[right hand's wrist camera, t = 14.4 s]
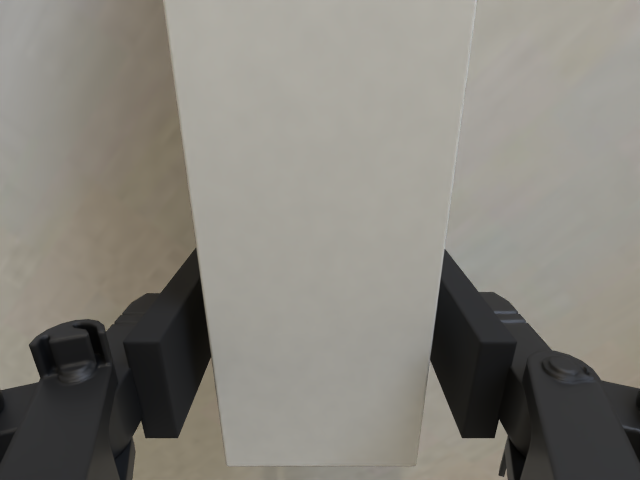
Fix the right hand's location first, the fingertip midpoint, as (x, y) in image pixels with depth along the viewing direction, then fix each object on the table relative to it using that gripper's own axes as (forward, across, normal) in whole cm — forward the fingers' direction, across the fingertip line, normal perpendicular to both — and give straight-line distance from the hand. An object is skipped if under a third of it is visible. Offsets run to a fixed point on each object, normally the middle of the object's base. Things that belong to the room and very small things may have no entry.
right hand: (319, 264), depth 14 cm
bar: (+3, 0, -7) cm, 8 cm away
